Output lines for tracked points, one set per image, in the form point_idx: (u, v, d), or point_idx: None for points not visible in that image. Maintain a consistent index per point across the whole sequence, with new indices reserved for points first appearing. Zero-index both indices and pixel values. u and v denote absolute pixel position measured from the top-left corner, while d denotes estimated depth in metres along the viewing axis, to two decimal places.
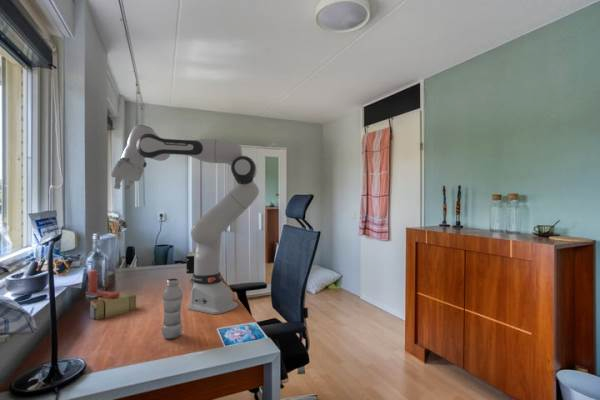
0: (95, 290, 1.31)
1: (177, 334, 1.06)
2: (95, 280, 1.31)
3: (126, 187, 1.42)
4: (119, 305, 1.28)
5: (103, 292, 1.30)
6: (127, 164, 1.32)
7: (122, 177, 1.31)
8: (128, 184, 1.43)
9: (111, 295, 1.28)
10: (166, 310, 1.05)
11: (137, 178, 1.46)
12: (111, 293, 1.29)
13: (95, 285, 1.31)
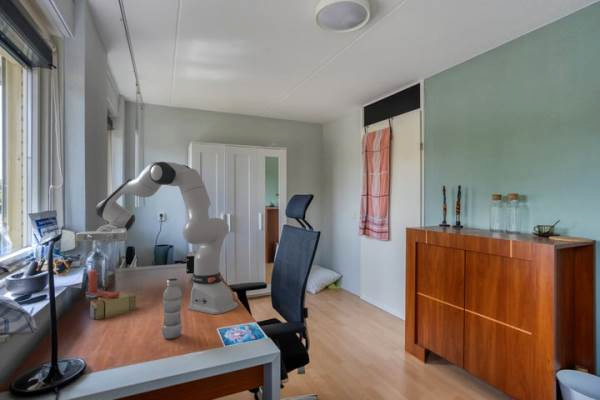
0: (95, 290, 1.31)
1: (177, 334, 1.06)
2: (95, 280, 1.31)
3: None
4: (119, 305, 1.28)
5: (103, 292, 1.30)
6: None
7: (83, 232, 1.41)
8: None
9: (111, 295, 1.28)
10: (166, 310, 1.05)
11: (119, 232, 1.46)
12: (111, 293, 1.29)
13: (95, 285, 1.31)
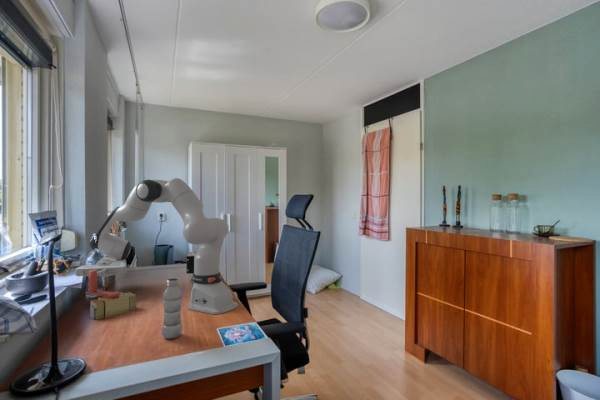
0: (95, 290, 1.31)
1: (177, 334, 1.06)
2: (95, 280, 1.31)
3: None
4: (119, 305, 1.28)
5: (103, 292, 1.30)
6: (87, 265, 1.46)
7: (82, 268, 1.41)
8: None
9: (111, 295, 1.28)
10: (166, 310, 1.05)
11: (118, 266, 1.46)
12: (111, 293, 1.29)
13: (95, 285, 1.31)
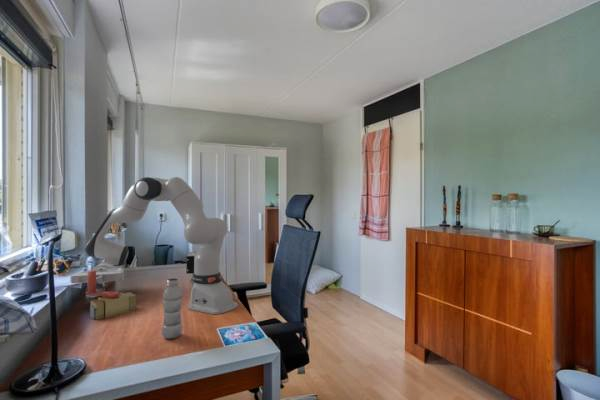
0: (94, 290, 1.31)
1: (177, 334, 1.06)
2: (94, 280, 1.30)
3: None
4: (119, 305, 1.28)
5: (103, 292, 1.30)
6: None
7: (78, 274, 1.35)
8: None
9: (111, 295, 1.28)
10: (166, 310, 1.05)
11: (115, 272, 1.40)
12: (111, 293, 1.29)
13: (94, 285, 1.31)
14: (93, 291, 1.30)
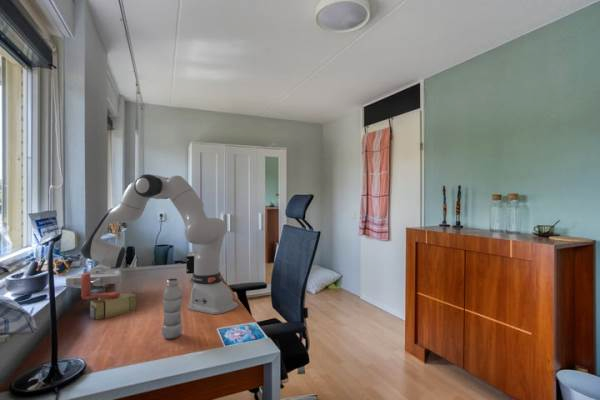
0: (89, 293, 1.26)
1: (177, 334, 1.06)
2: (89, 283, 1.26)
3: None
4: (119, 305, 1.28)
5: (100, 294, 1.28)
6: None
7: (73, 277, 1.31)
8: None
9: (114, 295, 1.28)
10: (166, 310, 1.05)
11: (112, 274, 1.36)
12: (112, 293, 1.29)
13: (89, 288, 1.26)
14: (89, 294, 1.26)
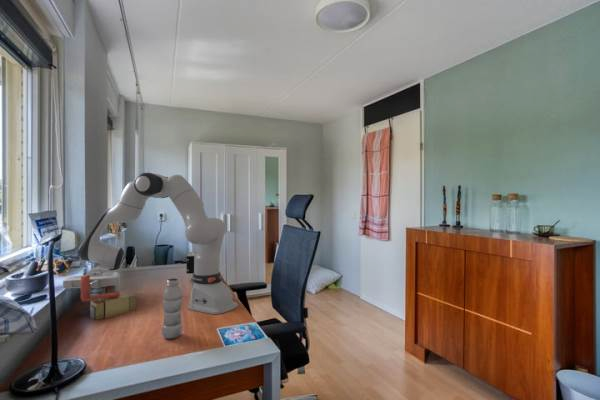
0: (89, 295, 1.24)
1: (177, 334, 1.06)
2: (89, 285, 1.24)
3: None
4: (119, 305, 1.28)
5: (100, 295, 1.27)
6: None
7: (71, 279, 1.28)
8: None
9: (116, 294, 1.29)
10: (166, 310, 1.05)
11: (111, 276, 1.33)
12: (113, 293, 1.29)
13: (89, 290, 1.24)
14: (89, 296, 1.24)
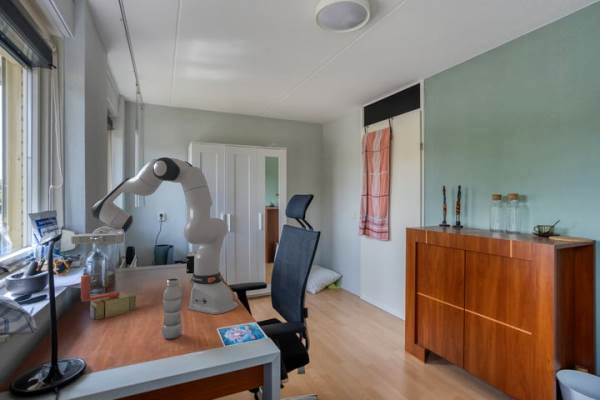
0: (89, 295, 1.24)
1: (177, 334, 1.06)
2: (89, 285, 1.24)
3: None
4: (119, 305, 1.28)
5: (100, 295, 1.26)
6: None
7: (78, 235, 1.35)
8: None
9: (116, 294, 1.29)
10: (166, 310, 1.05)
11: (116, 233, 1.40)
12: (113, 293, 1.29)
13: (89, 290, 1.24)
14: (89, 296, 1.23)
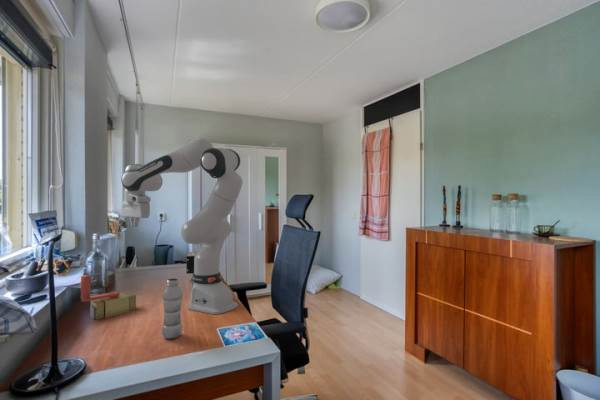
0: (89, 295, 1.24)
1: (177, 334, 1.06)
2: (89, 285, 1.24)
3: None
4: (119, 305, 1.28)
5: (100, 295, 1.26)
6: (123, 202, 1.52)
7: (123, 214, 1.52)
8: None
9: (116, 294, 1.29)
10: (166, 310, 1.05)
11: (138, 214, 1.44)
12: (113, 293, 1.29)
13: (89, 290, 1.24)
14: (89, 296, 1.23)
